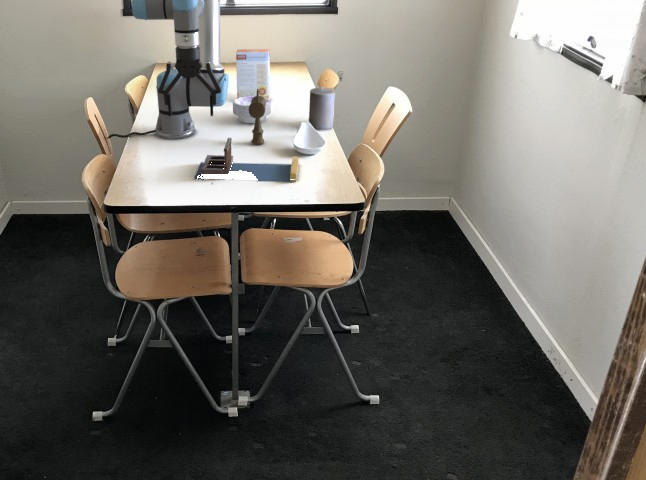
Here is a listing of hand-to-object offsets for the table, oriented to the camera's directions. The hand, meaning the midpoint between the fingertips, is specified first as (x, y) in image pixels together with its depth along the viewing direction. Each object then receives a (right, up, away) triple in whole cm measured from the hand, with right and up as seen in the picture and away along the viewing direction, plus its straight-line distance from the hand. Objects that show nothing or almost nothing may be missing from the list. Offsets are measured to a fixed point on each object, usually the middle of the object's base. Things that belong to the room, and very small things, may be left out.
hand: (191, 115), depth 231 cm
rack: (+8, -16, +9) cm, 20 cm away
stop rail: (+34, -17, +6) cm, 39 cm away
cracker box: (+22, +31, +79) cm, 88 cm away
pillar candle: (+48, +11, +48) cm, 69 cm away
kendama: (+22, -1, +32) cm, 40 cm away
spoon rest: (+40, -3, +29) cm, 49 cm away
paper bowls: (+21, +15, +56) cm, 62 cm away
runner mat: (+18, -17, +8) cm, 26 cm away
